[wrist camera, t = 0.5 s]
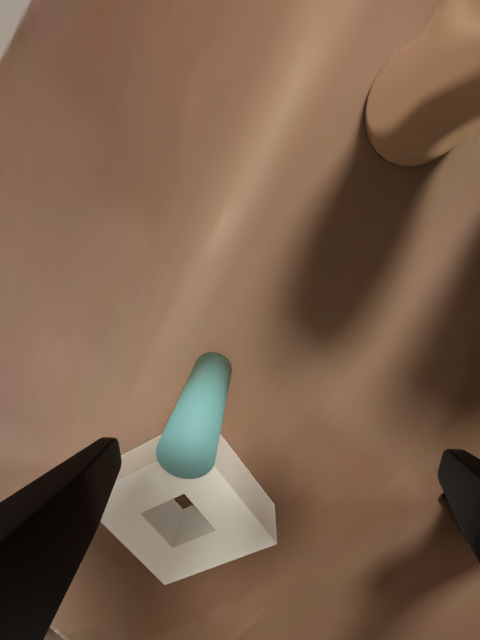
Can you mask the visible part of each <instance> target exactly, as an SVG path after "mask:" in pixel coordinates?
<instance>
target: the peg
mask: <svg viewBox="0 0 480 640" xmlns="http://www.w3.org/2000/svg"><path fill="white" fill-rule="evenodd" d="M231 372H232V368H231V364H230V362H229V360H228V359H227V358H226V357H225V356H223V355H221V354H219V353H215V352H209V353H205V354H203V355H202V356H200V357H199V358H198V360H197V361H196V363H195V365H194V368H193V370H192V372H191V374H190V376H189V378H188V380H187V383H186V385H185V387H184V389H183V391H182V393H181V395H180V397H179V400H178V402H177V404H176V406H175V408H174V410H173V412H172V415H171V417H170V419H169V421H168V423H167V425H166V427H165V429H164V432H163V434H162V436H161V438H160V440H159V442H158V445H157V447H156V457H157V460H158V462H159V464H160V465H161V467H162V468H163V469H164V470H165V471H167V472H168V473H169V474H171V475H173V476H176V477H178V478H183V479H196V478H200V477H202V476H204V475H206V474H207V473H209V472H210V471H211V469H212V468H213V466H214V464H215V460H216V454H217V449H218V443H219V438H220V432H221V427H222V421H223V416H224V410H225V405H226V399H227V394H228V389H229V383H230V378H231Z"/></svg>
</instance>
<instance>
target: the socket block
mask: <svg viewBox="0 0 480 640" xmlns="http://www.w3.org/2000/svg"><path fill="white" fill-rule="evenodd" d="M161 436H162V434H161V435H159V436H157V437H155V438H153V439H151V440H149V441H147V442H146V443H144V444H142V445H140V446H138V447H136V448H134V449H132V450H130V451H128V452H126V453H124V454H122V455H121V460H122V464H121V469H120V472H119V474H118V477H117V479H116V482H115V485H114V487H113V490H112V492H111V495H110V498H109V500H108V503H107V506H106V508H105V511H104V513H103V516H102V519H101V521H100V522H101V523H102V524H103V525H104V526H105V527H106V528H107V529H108V530H109V531H110V532H111V533H112V534H113V535H114V536H115V537H116V538H117V539H118V540H119V541H120V542H121V543H122V544H124V545H125V546H126V547H127V548H128V549H129V550H130V551H131V552H132V553H133V554H134V555H135V556H136V557H137V558H138V559H139V560H140V561H141V562H142V563H143V564H144V565H145V566H146V567H147V568H148V569H149V570H150V571H151V572H152V573H153V574H154V575H155V576H156V577H157V578H158V579H159V580H160V581H161V582H162V583H163V584H164V585H167V584H169V583H172V582H175V581H177V580H180V579H183V578H186V577H188V576H191V575H194V574H197V573H199V572H202V571H205V570H208V569H210V568H213V567H216V566H218V565H221V564H224V563H227V562H229V561H232V560H235V559H238V558H240V557H243V556H246V555H249V554H251V553H254V552H257V551H259V550H262V549H265V548H268V547H270V546H273V545H276V544H277V534H276V518H275V504H274V503H273V502H272V500H271V499H270V498H269V496H268V495H267V494H266V493H265V491H264V490H263V489H262V487H261V486H260V485H259V483H258V482H257V481H256V479H255V478H254V477H253V476H252V474H251V473H250V472H249V470H248V469H247V468H246V466H245V465H244V464H243V463H242V461H241V460H240V459H239V457H238V456H237V455H236V453H235V452H234V451H233V450H232V448H231V447H230V446H229V444H228V443H227V442H226V440H225V439H224V438H223V437H222V435H221V434H220V438H219V443H218V449H217V454H216V460H215V464H214V466H213V468H212V469H211V471H210V472H209V473H207V474H206V475H204V476H202V477H200V478H196V479H183V478H178V477H176V476H173V475H171V474H169V473H168V472H167V471H165V470H164V469H163V468H162V467H161V465H160V464H159V462H158V460H157V457H156V447H157V445H158V442H159V440H160V438H161ZM182 494H185V495H186V496H187V498H188V499H189V500H190V501H191V502H192V503H193V504H194V505H191V506H189V507H187V508H184V509H182V507H181V506H180V505H179V504H178V503H177V502H176V501H175V500H174V498H176V497H178V496H180V495H182Z"/></svg>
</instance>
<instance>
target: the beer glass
mask: <svg viewBox="0 0 480 640" xmlns="http://www.w3.org/2000/svg"><path fill="white" fill-rule="evenodd" d="M365 124H366V130H367V134H368V137H369V140H370V142H371V144H372V146H373V148H374V149H375V150H376V152H377V153H378V154H379V155H380V156H381V157H383V158H384V159H385V160H387V161H389V162H391V163H393V164H396V165H401V166H417V165H422V164H425V163H428V162H430V161H433V160H435V159H437V158H438V157H440V156H442V155H443V154H445V153H446V152H448V151H449V150H451V149H452V148H453V147H455V146H456V145H457V144H459V143H460V142H461V141H462V140H464V139H465V138H467V137H469V136H472V135H475V134H478V133H480V0H441V2H440V4H439V6H438V8H437V9H436V11H435V13H434V14H433V16H432V18H431V20H430V21H429V23H428V25H427V26H426V27H425V29H424V30H423V31H422V32H421V34H420V35H419V36H418V37H416V38H415V39H414V40H413V41H411V42H410V43H409V44H408V45H406V46H405V47H404V48H402V49H401V50H400V51H399V52H398V53H396V54H395V55H394V56H393V57H392V58H391V59H390V60H389V61H388V62H387V64H386V65H385V66H384V67H383V68H382V70H381V71H380V73H379V74H378V76H377V77H376V79H375V81H374V83H373V85H372V87H371V90H370V93H369V96H368V99H367V104H366V110H365Z"/></svg>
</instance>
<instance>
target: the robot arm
mask: <svg viewBox="0 0 480 640" xmlns="http://www.w3.org/2000/svg"><path fill="white" fill-rule="evenodd" d="M121 464H122V460H121V454H120V448H119V443H118V440H117V439H116V438H112V437H103V438H100V439H98V440H97V441H95V442H94V443H92V444H91V445H89V446H88V447H86V448H84V449H83V450H81V451H80V452H78V453H77V454H75V455H74V456H72V457H70V458H69V459H67V460H66V461H64V462H63V463H61V464H59V465H58V466H56V467H55V468H53V469H52V470H50V471H49V472H47V473H45V474H44V475H42V476H41V477H39V478H38V479H36V480H35V481H33V482H31V483H30V484H28V485H27V486H25V487H24V488H22V489H20V490H19V491H17V492H16V493H14V494H13V495H11V496H10V497H8V498H6V499H5V500H3V501H2V502H0V640H43V639H44V637H45V635H46V633H47V631H48V629H49V627H50V625H51V623H52V621H53V619H54V617H55V615H56V613H57V611H58V609H59V607H60V604H61V602H62V600H63V598H64V596H65V594H66V592H67V590H68V588H69V586H70V584H71V582H72V580H73V578H74V576H75V574H76V572H77V570H78V568H79V566H80V563H81V561H82V559H83V557H84V555H85V553H86V551H87V549H88V547H89V545H90V543H91V541H92V539H93V537H94V535H95V532H96V530H97V528H98V526H99V523H100V521H101V519H102V516H103V513H104V511H105V508H106V506H107V503H108V500H109V498H110V495H111V492H112V490H113V487H114V485H115V482H116V479H117V477H118V474H119V472H120V469H121ZM438 479H439V482H440V485H441V487H442V489H443V491H444V493H445V495H444V496H443V499H444V501H445V503H446V504H447V506H448V508H449V510H450V512H451V513H452V515H453V517H454V519H455V521H456V523H457V524H458V526H459V528H460V530H461V532H462V534H463V535H464V537H465V539H466V540H467V542H468V543H469V544H470V546H471V548H472V550H473V552H474V554H475V555H476V557H477V559H478V561H479V563H480V459H478V458H477V457H475V456H473V455H472V454H470V453H468V452H466V451H464V450H461V449H446V450H445V451H444V452H443V455H442V458H441V462H440V466H439V470H438Z"/></svg>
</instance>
